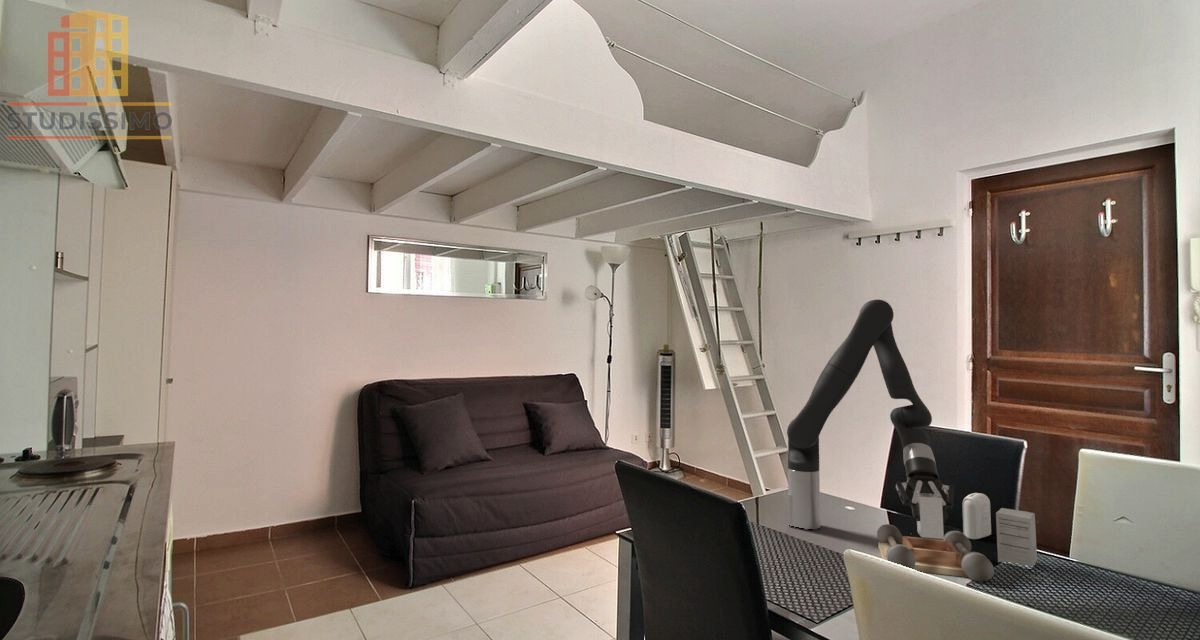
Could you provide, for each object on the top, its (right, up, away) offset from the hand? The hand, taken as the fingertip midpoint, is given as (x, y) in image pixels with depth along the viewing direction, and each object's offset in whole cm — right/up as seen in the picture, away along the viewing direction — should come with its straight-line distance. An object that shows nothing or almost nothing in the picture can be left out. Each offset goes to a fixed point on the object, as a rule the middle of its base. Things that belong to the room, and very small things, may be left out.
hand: (931, 520), depth 143 cm
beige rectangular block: (+1, -4, +1) cm, 5 cm away
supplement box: (+23, -12, +1) cm, 26 cm away
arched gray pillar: (+28, -13, +24) cm, 39 cm away
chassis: (0, -11, +1) cm, 11 cm away
